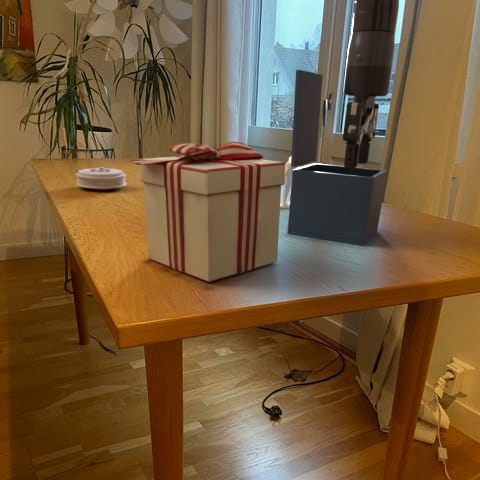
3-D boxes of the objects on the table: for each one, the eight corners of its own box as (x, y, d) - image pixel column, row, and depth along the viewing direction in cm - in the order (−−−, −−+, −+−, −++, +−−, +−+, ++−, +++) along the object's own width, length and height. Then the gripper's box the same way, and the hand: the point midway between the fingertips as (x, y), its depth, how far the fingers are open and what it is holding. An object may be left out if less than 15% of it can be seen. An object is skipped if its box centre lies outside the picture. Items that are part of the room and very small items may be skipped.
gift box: (199, 238, 85) (199, 135, 78) (283, 262, 74) (293, 145, 67) (120, 258, 73) (113, 138, 66) (208, 290, 62) (210, 151, 55)
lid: (66, 188, 122) (64, 168, 120) (97, 182, 133) (96, 163, 131) (107, 194, 118) (105, 173, 116) (136, 187, 129) (135, 168, 127)
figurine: (289, 203, 118) (293, 152, 113) (303, 206, 115) (308, 154, 110) (272, 207, 113) (276, 153, 107) (287, 210, 110) (292, 155, 105)
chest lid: (322, 74, 89) (318, 74, 90) (300, 69, 79) (295, 69, 79) (316, 160, 96) (312, 160, 96) (294, 167, 85) (290, 166, 86)
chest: (377, 231, 95) (387, 170, 90) (363, 246, 85) (373, 178, 80) (308, 221, 101) (314, 163, 96) (287, 233, 91) (292, 169, 86)
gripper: (383, 61, 73) (368, 171, 79) (398, 68, 84) (384, 163, 91) (335, 61, 76) (324, 167, 82) (356, 68, 87) (345, 160, 94)
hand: (356, 165), depth 87 cm, fingers open, 8 cm apart
